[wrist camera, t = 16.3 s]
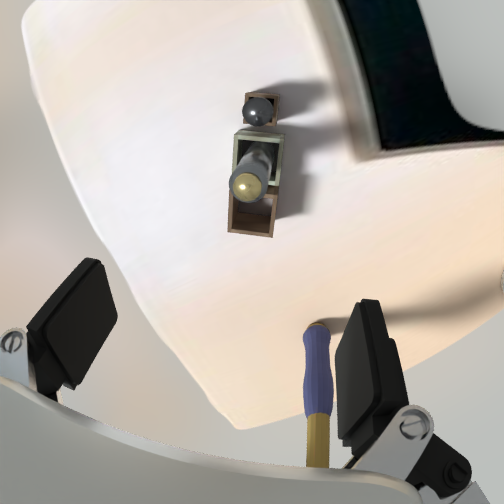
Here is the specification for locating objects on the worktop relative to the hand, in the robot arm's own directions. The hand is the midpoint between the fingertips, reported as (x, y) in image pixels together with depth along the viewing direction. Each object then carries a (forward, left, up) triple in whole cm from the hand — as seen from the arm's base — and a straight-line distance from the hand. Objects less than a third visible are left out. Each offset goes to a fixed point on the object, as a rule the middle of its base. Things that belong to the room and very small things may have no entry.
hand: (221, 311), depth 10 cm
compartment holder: (+1, 0, -23) cm, 23 cm away
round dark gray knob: (+1, -5, -22) cm, 23 cm away
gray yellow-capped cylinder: (+1, 0, -23) cm, 23 cm away
